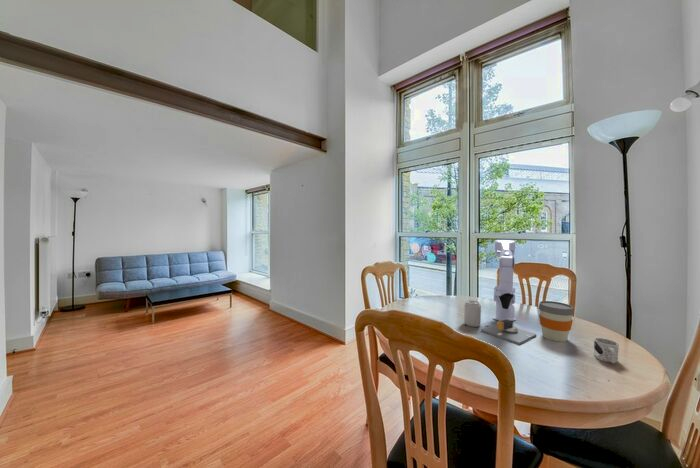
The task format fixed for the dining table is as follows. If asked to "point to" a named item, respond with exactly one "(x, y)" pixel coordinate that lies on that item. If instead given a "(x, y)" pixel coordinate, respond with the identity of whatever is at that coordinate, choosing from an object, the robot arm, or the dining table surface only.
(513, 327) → the black orange block
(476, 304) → the white bottle
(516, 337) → the panel
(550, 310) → the reusable coffee cup
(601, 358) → the mug
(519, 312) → the dining table surface
